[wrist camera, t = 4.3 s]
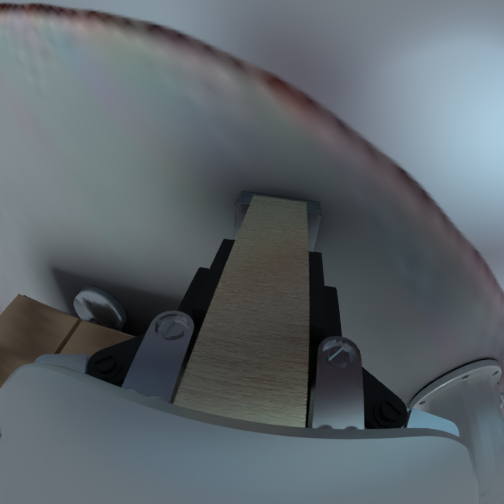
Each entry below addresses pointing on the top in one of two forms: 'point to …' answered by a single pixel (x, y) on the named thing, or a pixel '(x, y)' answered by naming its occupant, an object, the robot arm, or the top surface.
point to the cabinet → (47, 334)
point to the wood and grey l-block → (258, 318)
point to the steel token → (100, 307)
